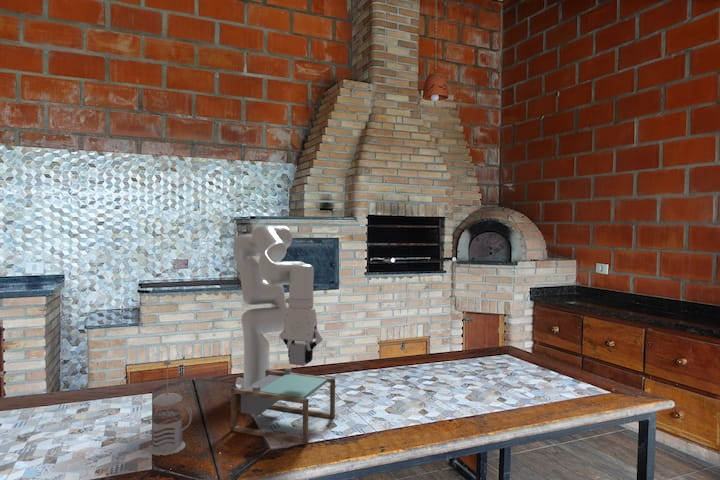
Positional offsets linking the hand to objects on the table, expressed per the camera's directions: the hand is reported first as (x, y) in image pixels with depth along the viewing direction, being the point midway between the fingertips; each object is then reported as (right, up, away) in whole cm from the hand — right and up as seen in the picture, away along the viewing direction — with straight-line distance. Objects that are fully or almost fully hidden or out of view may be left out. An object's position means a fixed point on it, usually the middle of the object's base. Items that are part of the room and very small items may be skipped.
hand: (300, 360), depth 149 cm
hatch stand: (-5, -21, +3) cm, 22 cm away
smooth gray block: (0, -1, 0) cm, 1 cm away
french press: (-35, -21, -14) cm, 43 cm away
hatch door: (-5, -16, +3) cm, 17 cm away
